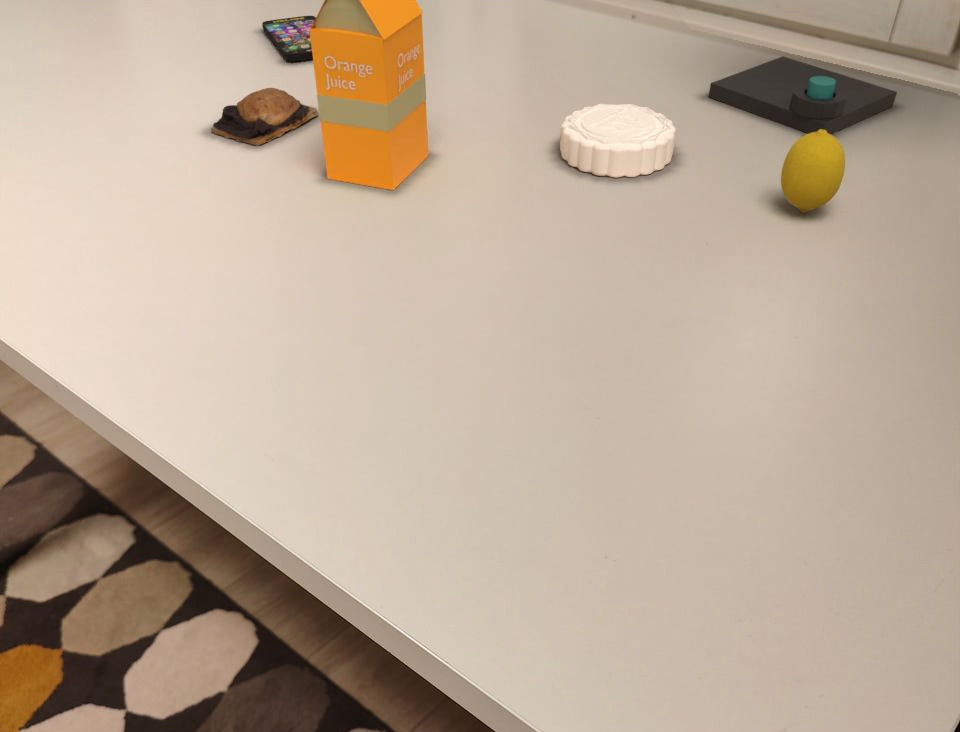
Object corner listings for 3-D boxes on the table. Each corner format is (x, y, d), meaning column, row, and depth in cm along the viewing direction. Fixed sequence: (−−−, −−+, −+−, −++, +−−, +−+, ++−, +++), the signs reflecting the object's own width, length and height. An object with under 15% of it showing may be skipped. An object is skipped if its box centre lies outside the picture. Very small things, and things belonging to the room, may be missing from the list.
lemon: (810, 231, 88) (831, 147, 83) (761, 210, 91) (778, 129, 86) (844, 212, 91) (866, 130, 85) (795, 193, 94) (814, 113, 88)
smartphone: (284, 55, 121) (259, 21, 132) (285, 63, 122) (260, 28, 132) (343, 47, 123) (314, 14, 134) (344, 55, 124) (315, 21, 134)
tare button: (837, 96, 104) (841, 80, 103) (822, 103, 103) (826, 86, 102) (816, 89, 106) (819, 73, 105) (800, 96, 105) (804, 79, 103)
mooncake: (628, 189, 95) (632, 155, 92) (536, 156, 101) (537, 122, 98) (694, 152, 101) (699, 118, 99) (604, 122, 107) (607, 90, 105)
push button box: (893, 106, 110) (902, 75, 108) (820, 139, 103) (827, 107, 101) (780, 69, 119) (786, 40, 117) (706, 98, 113) (710, 67, 110)
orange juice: (326, 178, 97) (299, -37, 84) (364, 145, 103) (345, -61, 90) (395, 190, 95) (379, -29, 81) (430, 156, 101) (421, -54, 87)
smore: (270, 102, 113) (265, 70, 110) (324, 117, 109) (320, 84, 107) (204, 131, 106) (198, 98, 104) (259, 148, 103) (253, 114, 100)
